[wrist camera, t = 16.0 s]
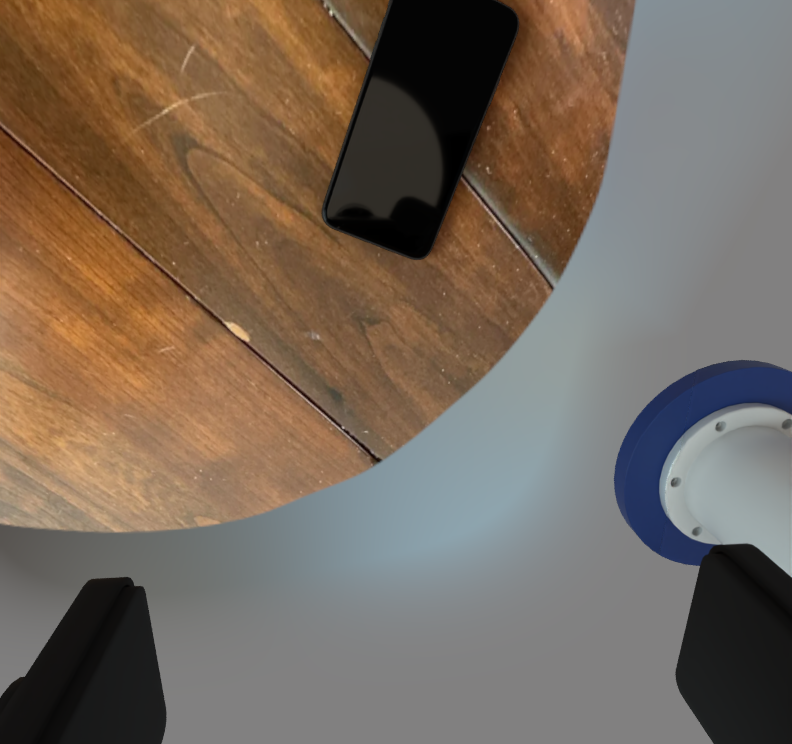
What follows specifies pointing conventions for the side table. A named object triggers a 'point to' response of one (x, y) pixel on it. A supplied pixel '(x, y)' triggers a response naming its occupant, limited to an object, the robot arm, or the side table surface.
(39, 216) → the side table surface
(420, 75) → the smartphone
